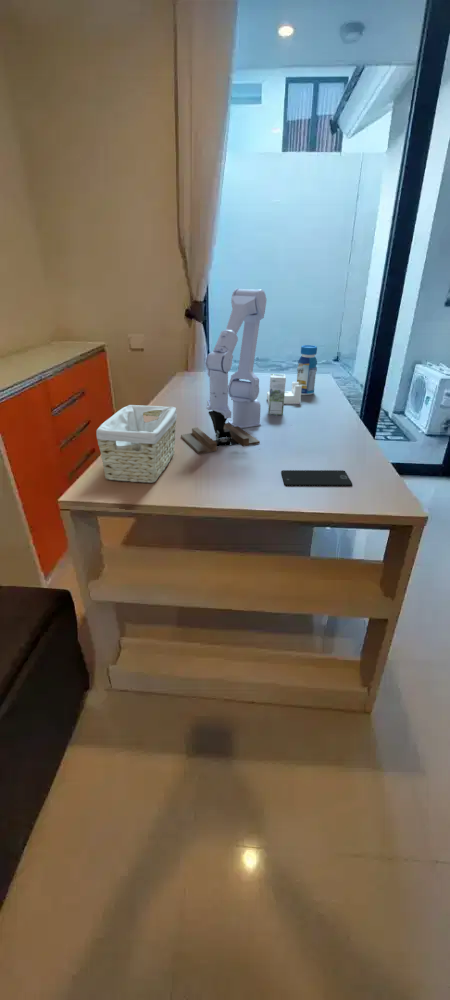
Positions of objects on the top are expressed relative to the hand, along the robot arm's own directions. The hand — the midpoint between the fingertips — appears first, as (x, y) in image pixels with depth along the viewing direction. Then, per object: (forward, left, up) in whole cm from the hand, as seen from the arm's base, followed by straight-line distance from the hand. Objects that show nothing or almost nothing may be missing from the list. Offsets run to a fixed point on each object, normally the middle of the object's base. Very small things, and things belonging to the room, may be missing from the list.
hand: (218, 433), depth 144 cm
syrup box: (-32, -17, -2) cm, 37 cm away
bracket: (-43, -30, -3) cm, 53 cm away
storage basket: (+28, +10, -3) cm, 30 cm away
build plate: (0, +3, -3) cm, 4 cm away
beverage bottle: (-59, -37, -2) cm, 70 cm away
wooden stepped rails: (0, +1, -2) cm, 2 cm away
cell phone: (-12, +38, -3) cm, 40 cm away
